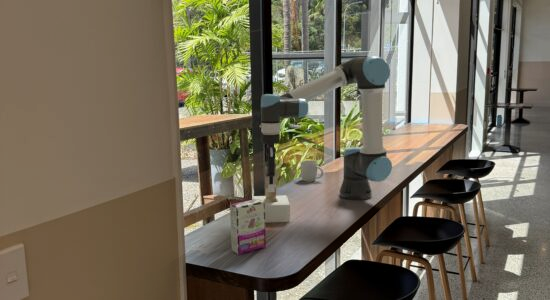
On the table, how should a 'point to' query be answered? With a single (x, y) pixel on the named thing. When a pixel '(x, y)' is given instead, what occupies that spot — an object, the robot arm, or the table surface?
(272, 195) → the peg
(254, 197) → the socket
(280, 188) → the table surface
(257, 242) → the candy bar box
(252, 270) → the table surface
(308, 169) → the mug
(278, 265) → the table surface
